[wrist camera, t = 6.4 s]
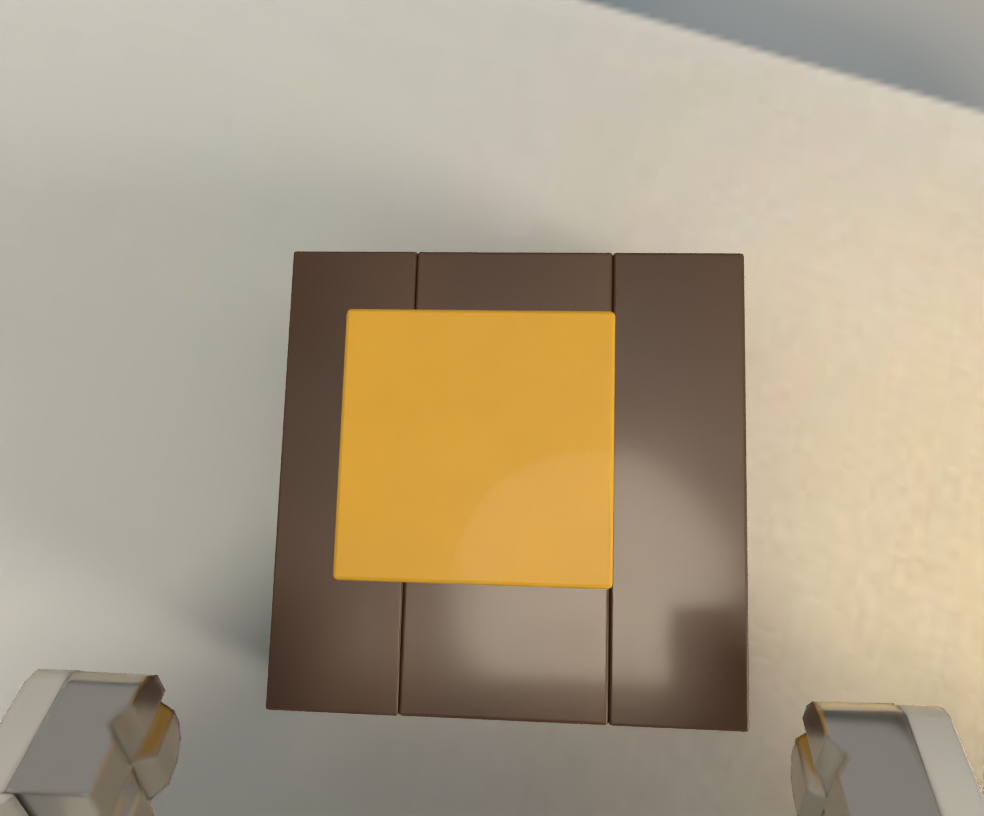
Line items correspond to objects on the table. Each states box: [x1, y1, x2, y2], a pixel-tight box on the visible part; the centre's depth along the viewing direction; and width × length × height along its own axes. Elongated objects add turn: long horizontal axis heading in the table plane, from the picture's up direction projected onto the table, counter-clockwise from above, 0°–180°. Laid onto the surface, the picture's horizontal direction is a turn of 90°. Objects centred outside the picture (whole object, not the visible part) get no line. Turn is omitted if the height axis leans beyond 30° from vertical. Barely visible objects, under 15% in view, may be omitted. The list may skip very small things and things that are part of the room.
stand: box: [266, 252, 749, 732], centre depth 18 cm, size 9×9×3 cm
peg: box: [333, 309, 615, 589], centre depth 15 cm, size 3×3×10 cm
